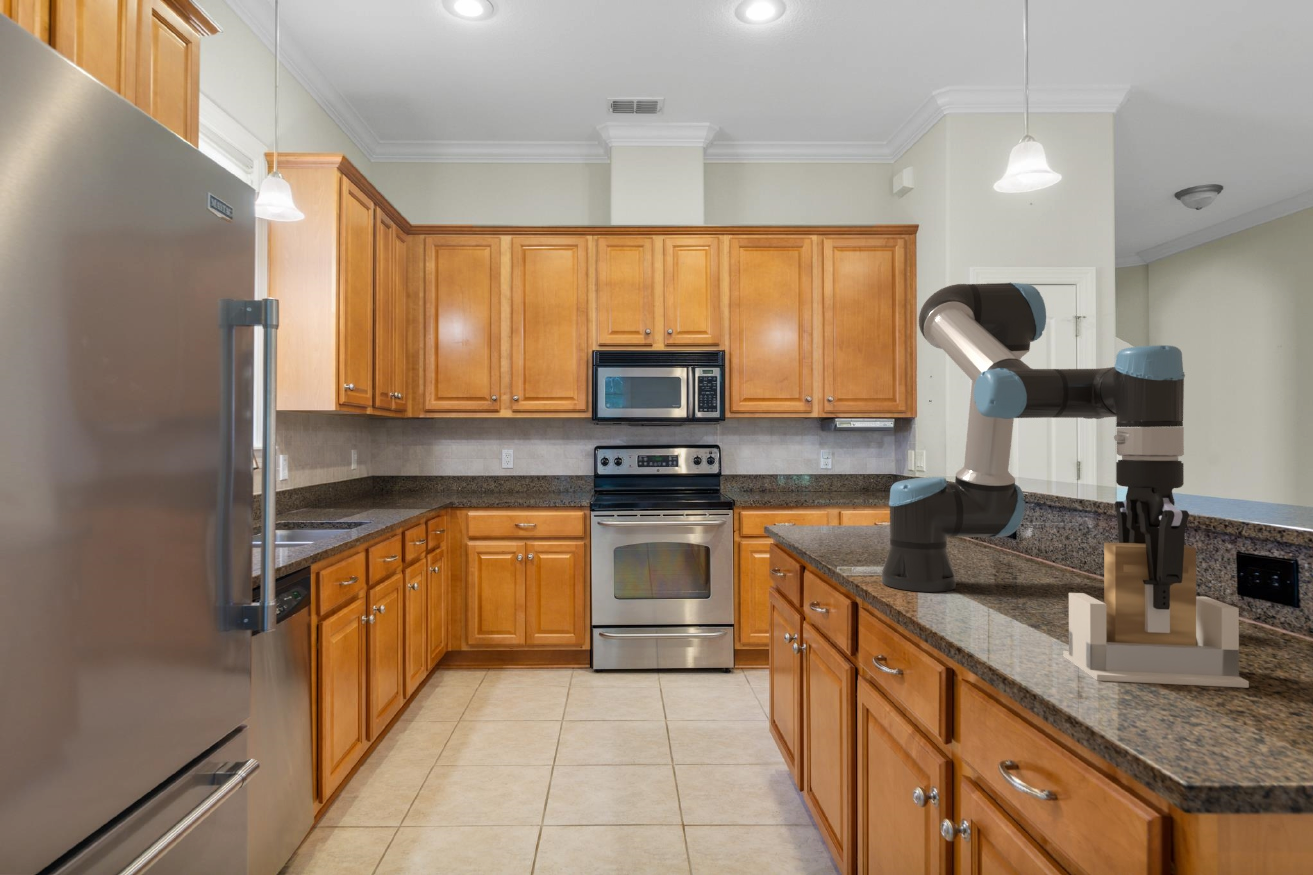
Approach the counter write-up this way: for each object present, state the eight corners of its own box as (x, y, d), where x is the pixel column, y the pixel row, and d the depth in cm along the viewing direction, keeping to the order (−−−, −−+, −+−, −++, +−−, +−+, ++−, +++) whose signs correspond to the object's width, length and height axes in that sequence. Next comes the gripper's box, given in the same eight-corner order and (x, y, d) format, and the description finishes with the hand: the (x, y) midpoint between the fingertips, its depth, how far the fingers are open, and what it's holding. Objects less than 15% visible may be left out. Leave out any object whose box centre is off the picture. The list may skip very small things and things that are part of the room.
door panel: (1104, 641, 95) (1103, 542, 95) (1181, 644, 94) (1181, 544, 94) (1115, 648, 92) (1115, 546, 92) (1196, 651, 90) (1196, 547, 90)
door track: (1063, 656, 99) (1063, 589, 99) (1198, 661, 96) (1198, 593, 96) (1097, 680, 89) (1096, 606, 89) (1248, 687, 86) (1248, 611, 86)
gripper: (1091, 456, 101) (1091, 611, 101) (1152, 460, 85) (1153, 644, 85) (1145, 456, 100) (1146, 613, 100) (1218, 460, 84) (1218, 647, 84)
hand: (1149, 627), depth 93 cm, fingers closed on door panel, 3 cm apart
